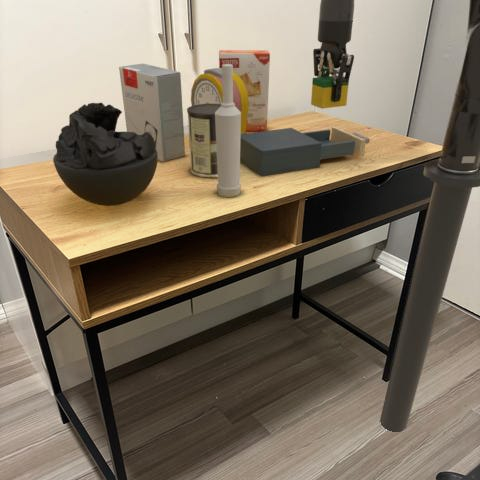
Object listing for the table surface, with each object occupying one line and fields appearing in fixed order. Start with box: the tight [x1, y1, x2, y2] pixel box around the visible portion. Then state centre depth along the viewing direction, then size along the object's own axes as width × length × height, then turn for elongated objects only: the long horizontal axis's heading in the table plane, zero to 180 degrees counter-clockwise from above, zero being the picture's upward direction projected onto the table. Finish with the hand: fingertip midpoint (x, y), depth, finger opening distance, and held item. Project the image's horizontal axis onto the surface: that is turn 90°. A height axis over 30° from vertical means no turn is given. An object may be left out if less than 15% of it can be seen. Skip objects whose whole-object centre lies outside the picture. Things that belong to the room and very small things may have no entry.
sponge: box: [310, 74, 350, 110], centre depth 122 cm, size 7×5×6 cm
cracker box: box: [218, 49, 271, 132], centre depth 145 cm, size 14×6×21 cm, turn 92°
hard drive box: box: [118, 63, 186, 163], centre depth 127 cm, size 16×8×20 cm, turn 44°
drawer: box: [302, 126, 371, 161], centre depth 130 cm, size 19×14×4 cm
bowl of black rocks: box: [52, 102, 158, 207], centre depth 100 cm, size 20×20×19 cm
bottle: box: [215, 64, 242, 198], centre depth 102 cm, size 5×5×25 cm
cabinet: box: [240, 127, 322, 177], centre depth 125 cm, size 16×15×6 cm
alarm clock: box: [190, 67, 249, 134], centre depth 136 cm, size 15×8×18 cm, turn 42°
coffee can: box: [186, 104, 221, 178], centre depth 117 cm, size 10×10×14 cm
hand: (328, 98), depth 123 cm, fingers closed on sponge, 5 cm apart
